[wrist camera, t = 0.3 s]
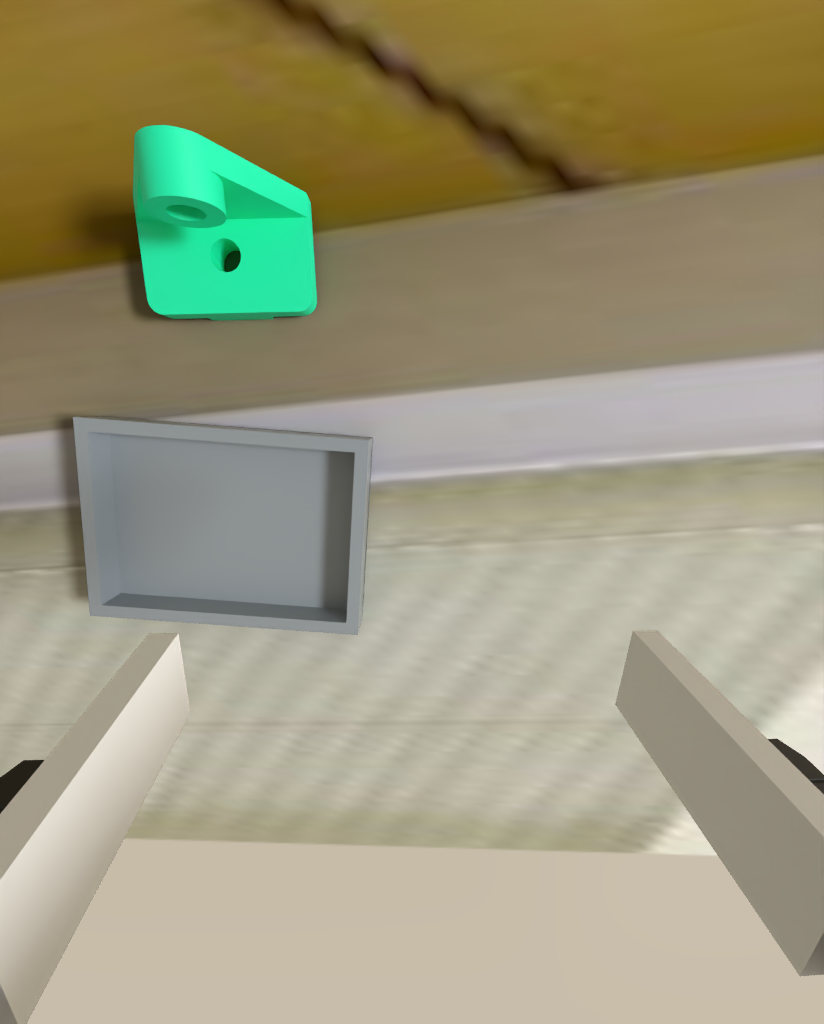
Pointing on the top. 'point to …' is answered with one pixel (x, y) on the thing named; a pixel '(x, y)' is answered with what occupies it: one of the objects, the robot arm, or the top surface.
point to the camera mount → (219, 231)
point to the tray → (223, 523)
